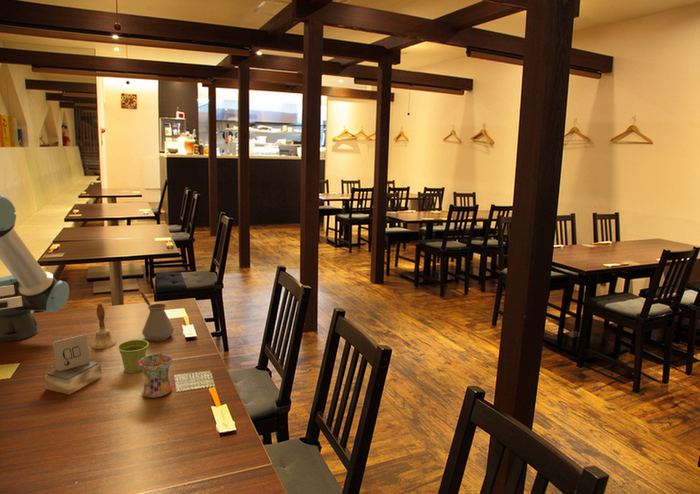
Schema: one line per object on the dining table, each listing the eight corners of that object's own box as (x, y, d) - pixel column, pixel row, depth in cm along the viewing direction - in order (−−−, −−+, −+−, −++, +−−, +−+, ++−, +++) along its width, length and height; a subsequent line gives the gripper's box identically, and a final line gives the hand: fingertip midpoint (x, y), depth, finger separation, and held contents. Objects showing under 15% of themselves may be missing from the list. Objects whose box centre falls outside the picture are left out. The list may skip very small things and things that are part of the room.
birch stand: (79, 372, 153) (78, 357, 152) (101, 376, 151) (100, 362, 150) (46, 389, 142) (44, 373, 141) (69, 394, 140) (67, 379, 139)
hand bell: (100, 350, 170) (96, 309, 166) (86, 345, 174) (82, 304, 170) (120, 343, 177) (118, 303, 173) (107, 338, 181) (104, 298, 177)
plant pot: (152, 362, 162) (150, 338, 160) (147, 374, 153) (146, 350, 151) (122, 364, 160) (121, 340, 158) (116, 377, 151) (114, 352, 149)
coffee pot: (179, 338, 183) (177, 301, 180) (149, 346, 175) (147, 307, 172) (156, 323, 198) (154, 289, 195) (128, 329, 190) (126, 294, 187)
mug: (177, 394, 142) (175, 362, 139) (144, 403, 136) (142, 370, 134) (166, 378, 151) (164, 348, 149) (135, 386, 146) (133, 354, 143)
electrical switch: (57, 373, 142) (54, 343, 141) (53, 368, 146) (49, 340, 144) (91, 363, 149) (88, 335, 148) (85, 360, 152) (82, 332, 151)
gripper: (-80, 310, 131) (12, 296, 145) (-79, 338, 113) (26, 319, 127) (-84, 285, 129) (9, 273, 144) (-84, 309, 112) (23, 293, 126)
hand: (18, 295), depth 135 cm, fingers open, 13 cm apart
